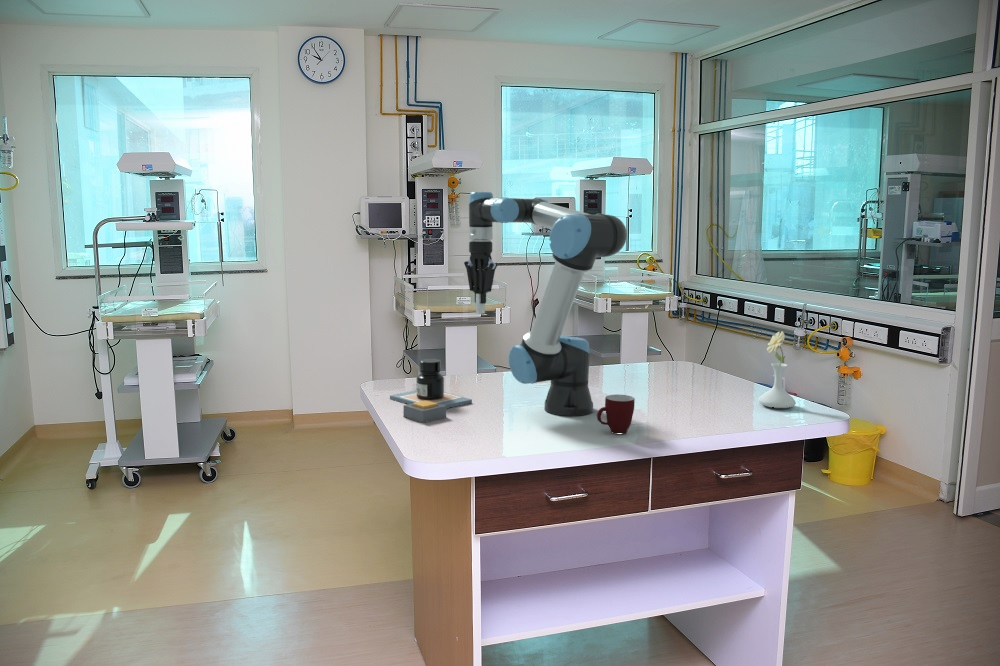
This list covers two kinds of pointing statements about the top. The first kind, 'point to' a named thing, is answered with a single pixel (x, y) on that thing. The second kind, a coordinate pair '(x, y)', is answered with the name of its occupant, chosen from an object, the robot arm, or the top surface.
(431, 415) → the button housing
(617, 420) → the mug
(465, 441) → the top surface
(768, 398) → the flower in vase
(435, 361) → the ink bottle
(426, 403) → the button
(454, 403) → the picture board
